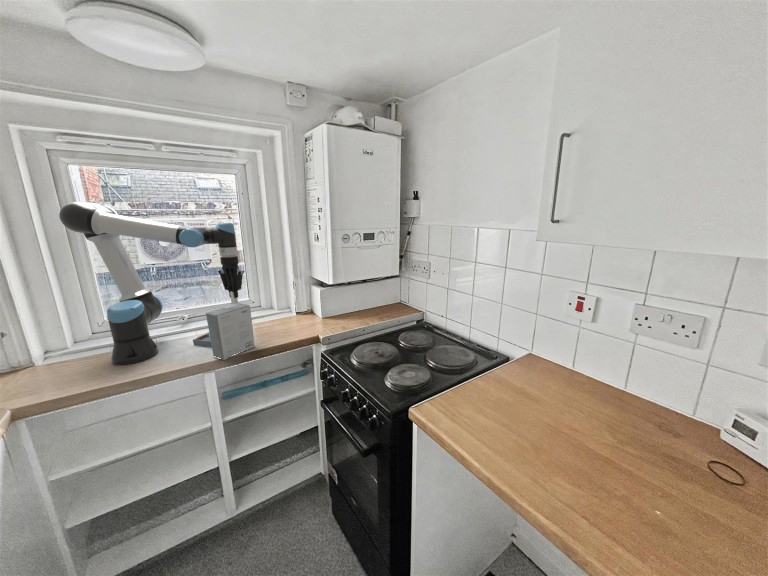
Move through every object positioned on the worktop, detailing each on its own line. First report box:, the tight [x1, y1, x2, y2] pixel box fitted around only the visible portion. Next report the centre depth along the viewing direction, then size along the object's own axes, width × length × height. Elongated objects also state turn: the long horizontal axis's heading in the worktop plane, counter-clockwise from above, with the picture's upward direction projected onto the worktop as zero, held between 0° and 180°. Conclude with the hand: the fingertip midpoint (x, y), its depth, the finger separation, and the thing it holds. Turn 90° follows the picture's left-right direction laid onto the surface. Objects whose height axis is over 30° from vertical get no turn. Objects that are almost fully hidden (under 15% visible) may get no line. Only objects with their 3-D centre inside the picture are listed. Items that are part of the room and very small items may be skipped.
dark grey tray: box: [192, 332, 212, 348], centre depth 145 cm, size 13×20×3 cm, turn 166°
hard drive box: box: [205, 302, 256, 361], centre depth 128 cm, size 16×8×20 cm, turn 149°
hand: (234, 303), depth 146 cm, fingers closed
